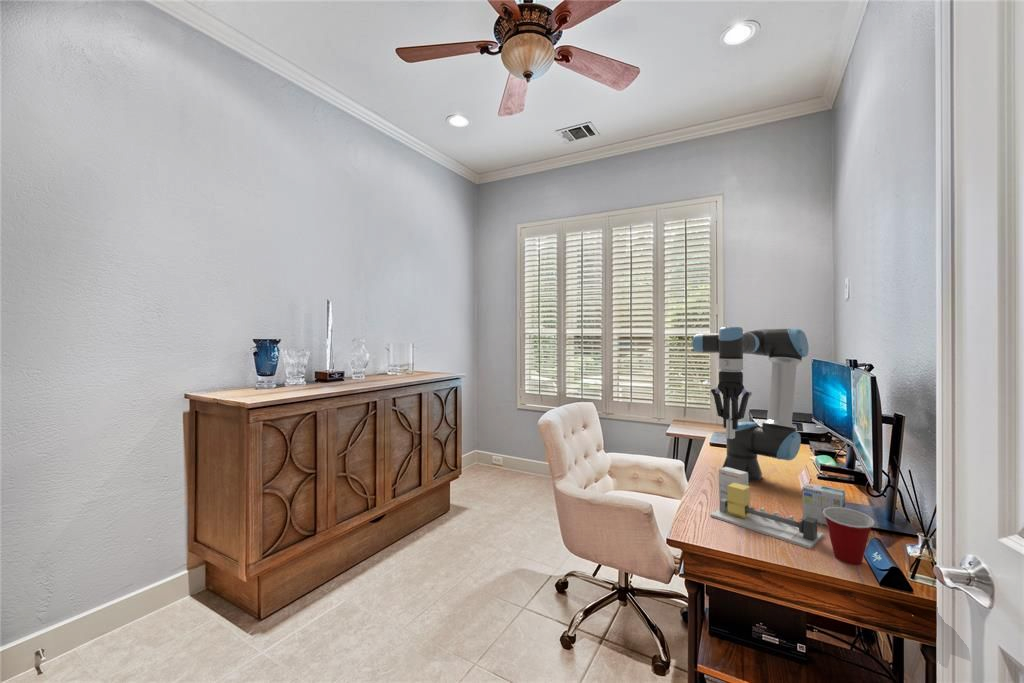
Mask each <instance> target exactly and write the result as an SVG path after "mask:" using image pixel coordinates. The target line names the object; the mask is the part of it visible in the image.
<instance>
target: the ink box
mask: <svg viewBox="0 0 1024 683" xmlns="http://www.w3.org/2000/svg"><path fill="white" fill-rule="evenodd" d="M732 483H738V484H741V485H745V486H749V481H748V472H744V471H740V470H736V469H733V468H729V467H724V468H722V467H721V468H718V492H719V493H718V494H719V495H718V496H719V498H718V499H719V501H720V500H721V499H723V498H725V499H728V485H730V484H732ZM749 487H750V486H749Z"/></svg>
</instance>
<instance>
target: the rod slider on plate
mask: <svg viewBox="0 0 1024 683" xmlns="http://www.w3.org/2000/svg"><path fill="white" fill-rule="evenodd" d="M745 512H747V513H750V515H748V516H747V517H745V518H741V517H737V516H734V515H731V514H728V499H725V498H723V499H721V500H719V508H718V509H717V510H715V511H713V512H711V513H710V517H711V516H712V517H711V518H714V519H717V518H718V519H717V520H721V521H724V522H727V523H729V524H732V525H736V526H739V527H742V528H744V529H748V530H751V531H755V532H757V533H761V534H763V535H766V536H769V537H773V538H775V539H779V540H782V541H785V542H787V543H791V544H793V545H798V546H800V547H803V548H806V549H809V550H812V549H813V548H814V546H816V545H817V544H818V543H819V542H820V540H822V538H823V537H824V533H822V532H819V531H818V523H817V519H814V518H810V517H807V518H806V519H803V518H800V520H799V521H797V520H794V516H793V515H791V514H790V515H788V518H786V517H782V516H779V511H777V510H775V511H774V512H773V514H772V513H768V512H765V507H761V508H760V509H759V510H758V509H755V508H752V504H751V503H750V508H748V507H745Z"/></svg>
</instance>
